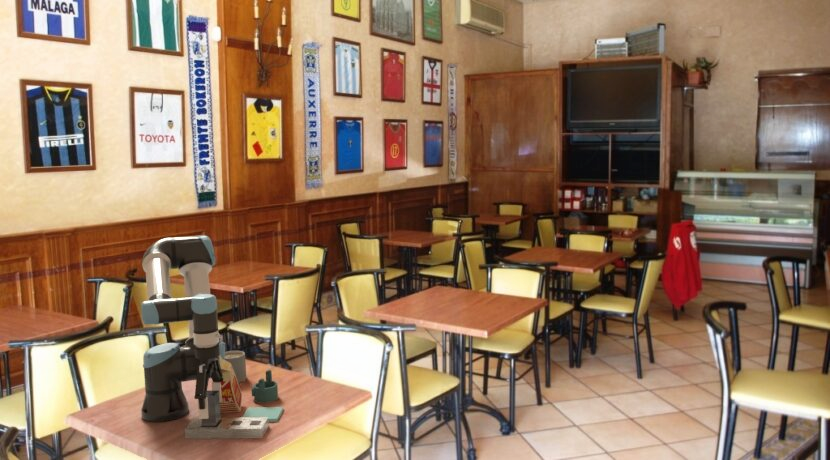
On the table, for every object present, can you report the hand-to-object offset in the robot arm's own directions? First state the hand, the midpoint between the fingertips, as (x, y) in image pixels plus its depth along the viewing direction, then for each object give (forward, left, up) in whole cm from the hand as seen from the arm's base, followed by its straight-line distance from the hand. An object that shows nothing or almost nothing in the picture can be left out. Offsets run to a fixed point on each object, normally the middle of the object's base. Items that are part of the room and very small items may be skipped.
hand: (210, 410), depth 219 cm
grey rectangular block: (0, 0, -8) cm, 8 cm away
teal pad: (+13, +13, -7) cm, 20 cm away
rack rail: (+5, 0, -7) cm, 9 cm away
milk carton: (-1, +21, -6) cm, 22 cm away
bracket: (+10, +29, -8) cm, 32 cm away
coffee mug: (-7, +51, -8) cm, 52 cm away
